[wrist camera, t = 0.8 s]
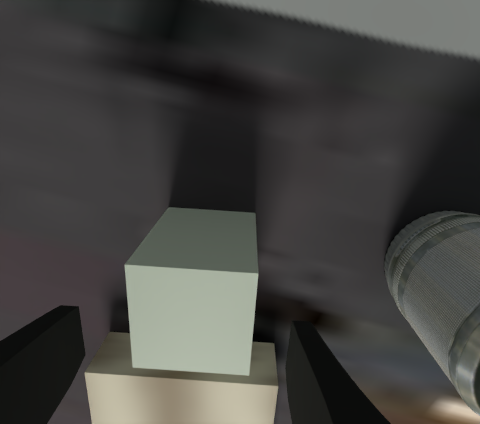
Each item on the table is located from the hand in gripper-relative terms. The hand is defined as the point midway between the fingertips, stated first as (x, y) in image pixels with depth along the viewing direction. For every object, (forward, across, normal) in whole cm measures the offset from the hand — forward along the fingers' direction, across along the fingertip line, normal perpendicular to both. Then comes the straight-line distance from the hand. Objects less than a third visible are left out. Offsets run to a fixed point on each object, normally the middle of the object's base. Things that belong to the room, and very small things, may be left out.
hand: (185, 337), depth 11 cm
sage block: (+7, 0, 0) cm, 7 cm away
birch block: (+7, +1, +11) cm, 13 cm away
